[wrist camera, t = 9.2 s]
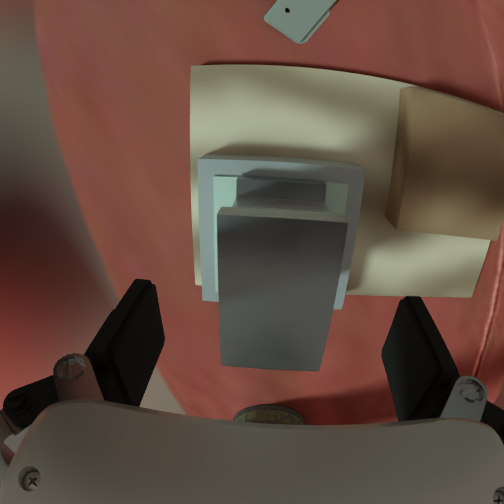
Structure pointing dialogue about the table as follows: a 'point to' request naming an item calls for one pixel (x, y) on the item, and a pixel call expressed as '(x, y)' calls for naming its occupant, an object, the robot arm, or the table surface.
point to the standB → (231, 166)
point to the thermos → (269, 415)
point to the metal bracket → (298, 17)
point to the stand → (447, 167)
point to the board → (331, 149)
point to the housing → (277, 273)
